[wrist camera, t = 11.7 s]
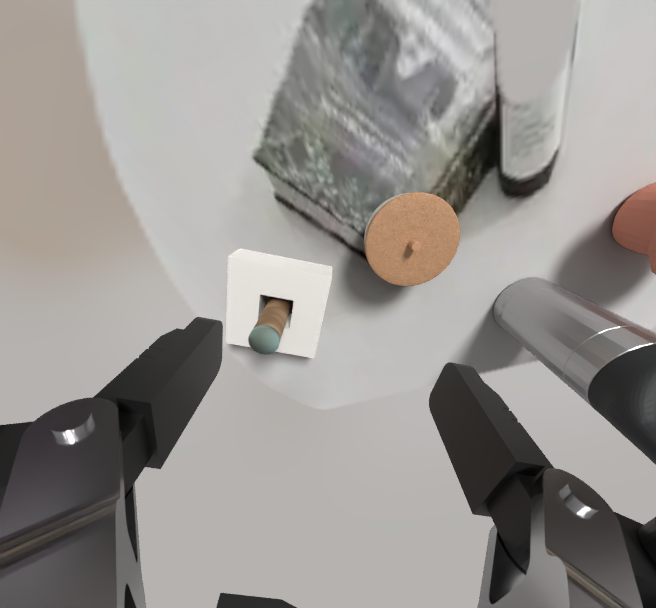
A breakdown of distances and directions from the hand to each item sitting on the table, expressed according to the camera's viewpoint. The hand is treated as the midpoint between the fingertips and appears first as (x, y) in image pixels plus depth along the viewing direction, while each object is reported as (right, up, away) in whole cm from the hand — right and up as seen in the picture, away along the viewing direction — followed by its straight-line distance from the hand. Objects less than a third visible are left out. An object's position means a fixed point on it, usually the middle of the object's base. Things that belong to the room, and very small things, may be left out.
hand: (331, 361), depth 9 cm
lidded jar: (+10, +12, +27) cm, 32 cm away
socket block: (-8, +3, +32) cm, 33 cm away
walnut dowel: (-8, +3, +32) cm, 33 cm away
